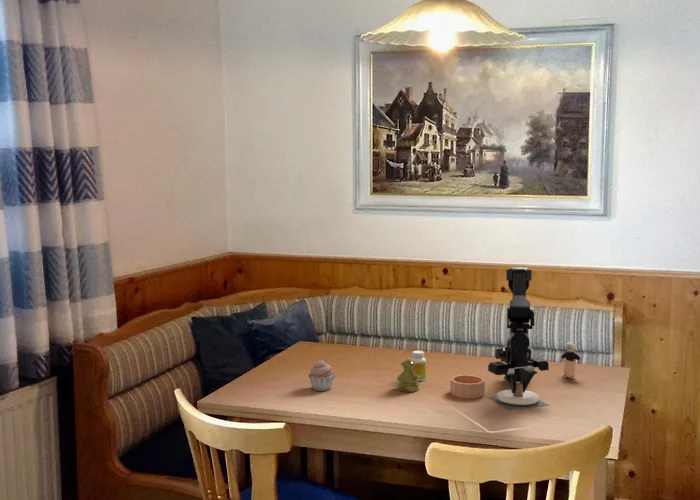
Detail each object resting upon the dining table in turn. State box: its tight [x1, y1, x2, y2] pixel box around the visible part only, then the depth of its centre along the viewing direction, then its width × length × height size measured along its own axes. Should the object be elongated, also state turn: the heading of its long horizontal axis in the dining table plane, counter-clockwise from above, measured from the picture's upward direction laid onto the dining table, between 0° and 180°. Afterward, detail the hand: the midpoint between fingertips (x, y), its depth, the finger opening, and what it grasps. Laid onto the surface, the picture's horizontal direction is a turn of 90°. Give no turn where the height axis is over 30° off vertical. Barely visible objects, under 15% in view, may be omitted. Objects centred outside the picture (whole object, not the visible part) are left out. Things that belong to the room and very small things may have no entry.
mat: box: [487, 395, 550, 411], centre depth 246 cm, size 14×14×1 cm
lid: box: [496, 381, 540, 405], centre depth 246 cm, size 13×13×5 cm
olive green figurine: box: [396, 359, 420, 393], centre depth 261 cm, size 7×7×10 cm
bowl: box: [449, 374, 486, 399], centre depth 255 cm, size 11×11×5 cm
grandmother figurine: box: [559, 341, 583, 380], centre depth 273 cm, size 8×4×13 cm, turn 68°
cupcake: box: [307, 359, 336, 392], centre depth 262 cm, size 9×9×10 cm
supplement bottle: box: [410, 350, 427, 382], centre depth 273 cm, size 5×5×10 cm
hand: (518, 392), depth 246 cm, fingers closed on lid, 3 cm apart
